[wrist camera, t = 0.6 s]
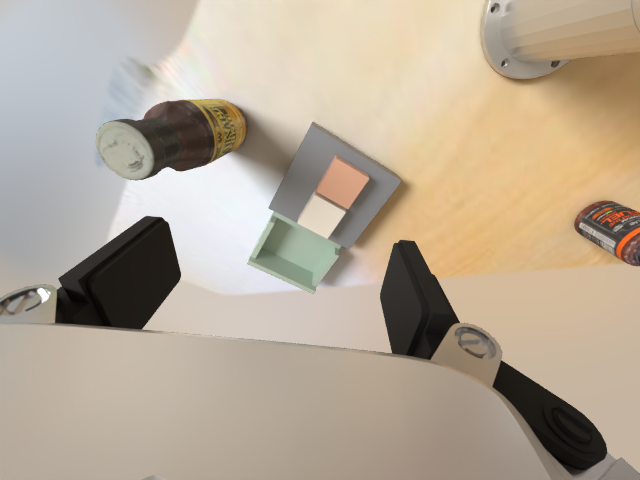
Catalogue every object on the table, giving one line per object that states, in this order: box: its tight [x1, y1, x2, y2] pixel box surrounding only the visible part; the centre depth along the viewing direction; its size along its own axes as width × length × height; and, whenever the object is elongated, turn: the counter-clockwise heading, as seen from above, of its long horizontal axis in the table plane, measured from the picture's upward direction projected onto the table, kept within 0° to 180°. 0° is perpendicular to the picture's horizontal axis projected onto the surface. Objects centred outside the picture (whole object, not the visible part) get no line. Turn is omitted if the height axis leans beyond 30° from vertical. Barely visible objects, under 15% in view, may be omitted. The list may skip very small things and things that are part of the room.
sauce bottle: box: [96, 99, 247, 180], centre depth 27 cm, size 6×6×20 cm
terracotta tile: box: [316, 155, 369, 209], centre depth 35 cm, size 5×5×2 cm
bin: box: [247, 211, 341, 294], centre depth 42 cm, size 9×12×5 cm
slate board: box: [269, 122, 401, 250], centre depth 38 cm, size 13×14×3 cm
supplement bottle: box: [575, 201, 640, 266], centre depth 35 cm, size 6×6×11 cm
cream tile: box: [297, 190, 346, 239], centre depth 37 cm, size 5×5×2 cm
